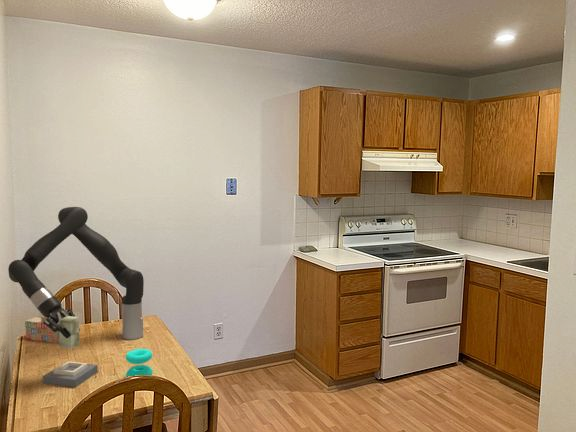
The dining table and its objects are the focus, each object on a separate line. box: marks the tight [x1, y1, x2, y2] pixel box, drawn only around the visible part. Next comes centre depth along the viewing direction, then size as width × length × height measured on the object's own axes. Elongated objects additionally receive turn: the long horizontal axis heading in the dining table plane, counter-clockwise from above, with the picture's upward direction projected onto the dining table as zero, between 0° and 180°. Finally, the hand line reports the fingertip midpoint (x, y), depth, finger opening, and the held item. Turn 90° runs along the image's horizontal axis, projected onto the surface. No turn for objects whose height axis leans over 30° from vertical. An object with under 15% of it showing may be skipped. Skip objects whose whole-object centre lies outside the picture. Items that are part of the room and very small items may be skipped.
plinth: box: [42, 361, 99, 388], centre depth 187 cm, size 14×14×4 cm
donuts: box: [125, 348, 154, 378], centre depth 188 cm, size 10×10×10 cm
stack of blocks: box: [24, 315, 60, 344], centre depth 228 cm, size 21×6×12 cm, turn 76°
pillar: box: [59, 316, 81, 350], centre depth 185 cm, size 5×5×11 cm
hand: (73, 334), depth 185 cm, fingers closed on pillar, 5 cm apart
